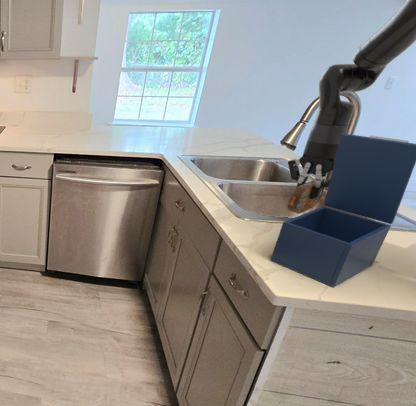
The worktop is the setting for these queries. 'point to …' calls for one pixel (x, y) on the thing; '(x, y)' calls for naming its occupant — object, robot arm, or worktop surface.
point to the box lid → (370, 176)
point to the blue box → (329, 244)
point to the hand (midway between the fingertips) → (306, 196)
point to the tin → (303, 198)
